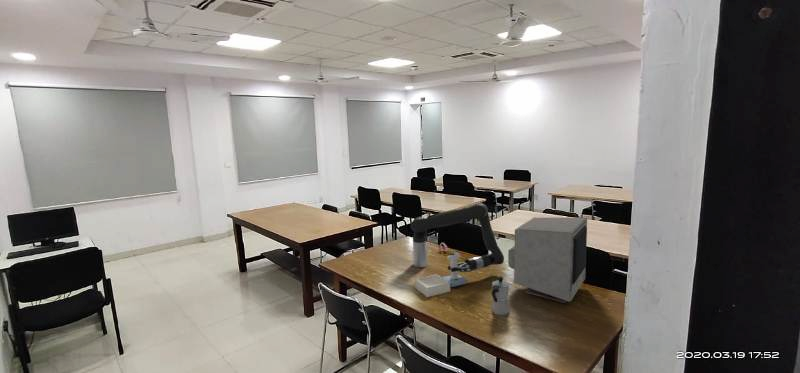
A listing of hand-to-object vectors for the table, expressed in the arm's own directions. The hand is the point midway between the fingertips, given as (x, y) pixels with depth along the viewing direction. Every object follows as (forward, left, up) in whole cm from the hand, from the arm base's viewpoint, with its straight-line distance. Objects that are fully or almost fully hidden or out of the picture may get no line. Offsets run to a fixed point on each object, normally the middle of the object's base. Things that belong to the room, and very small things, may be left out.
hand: (449, 269), depth 217 cm
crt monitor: (+32, +41, -10) cm, 53 cm away
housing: (0, -12, -10) cm, 16 cm away
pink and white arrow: (-49, +30, -10) cm, 58 cm away
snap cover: (0, +3, -8) cm, 9 cm away
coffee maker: (+40, +4, -10) cm, 41 cm away
